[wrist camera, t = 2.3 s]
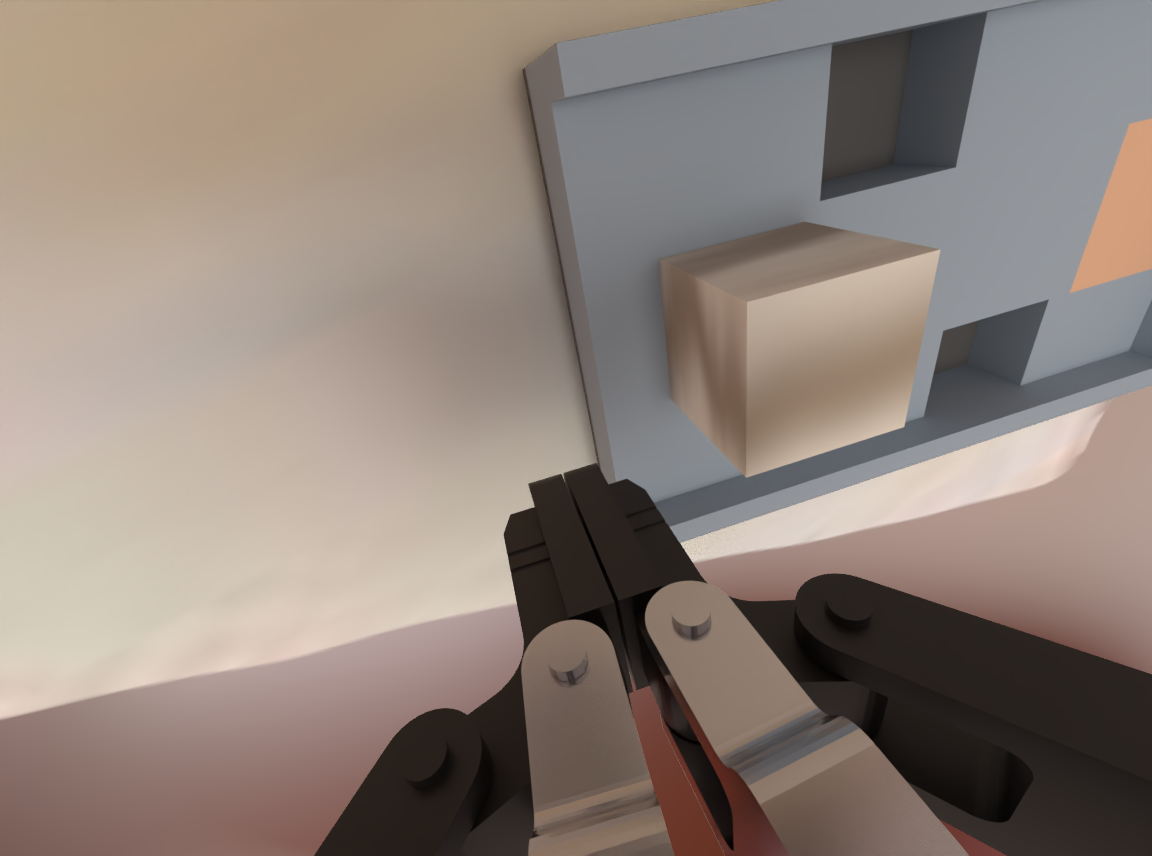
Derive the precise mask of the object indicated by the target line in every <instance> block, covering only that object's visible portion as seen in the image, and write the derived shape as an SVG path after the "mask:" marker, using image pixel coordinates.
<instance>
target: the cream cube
mask: <svg viewBox="0 0 1152 856" xmlns="http://www.w3.org/2000/svg"><path fill="white" fill-rule="evenodd" d="M940 250H941V249H937V248H932V247H927V246H922V245H917V244H912V243H907V242H902V241H897V240H892V239H888V238H883V237H878V236H873V235H868V234H863V233H858V232H853V231H848V230H843V229H838V228H834V227H829V226H824V225H819V224H814V223H809V222H801V223H797V224H793V225H790V226H786V227H782V228H778V229H774V230H770V231H766V232H762V233H758V234H754V235H750V236H746V237H742V238H739V239H735V240H731V241H727V242H723V243H719V244H715V245H711V246H707V247H703V248H699V249H695V250H691V251H688V252H684V253H680V254H676V255H672V256H668V257H664V258H660V259H659V266H660V278H661V289H662V301H663V312H664V324H665V335H666V346H667V358H668V369H669V381H670V392H671V400H672V401H673V402H674V403H675V404H676V405H677V406H678V407H679V408H680V409H681V410H682V411H683V412H684V413H685V415H686V416H687V417H688V418H689V419H690V420H691V421H692V422H693V423H694V424H695V425H696V426H697V427H698V428H699V429H700V430H701V431H702V432H703V433H704V434H705V435H706V436H707V437H708V439H709V440H710V441H711V442H712V443H713V444H714V445H715V446H716V447H717V448H718V449H719V450H720V451H721V452H722V453H723V454H724V455H725V456H726V457H727V458H728V459H729V460H730V462H731V463H732V464H733V465H734V466H735V467H736V468H737V469H738V470H739V471H740V472H741V473H742V474H743V475H744V476H745V477H746V478H747V477H750V476H753V475H756V474H759V473H763V472H766V471H769V470H772V469H775V468H778V467H781V466H784V465H787V464H791V463H794V462H797V461H800V460H803V459H806V458H809V457H812V456H815V455H819V454H822V453H825V452H828V451H831V450H834V449H837V448H840V447H843V446H847V445H850V444H853V443H856V442H859V441H862V440H865V439H868V438H871V437H874V436H878V435H881V434H884V433H887V432H890V431H893V430H896V429H899V428H902V427H904V426H905V421H906V416H907V411H908V406H909V401H910V396H911V392H912V387H913V382H914V377H915V372H916V367H917V362H918V357H919V353H920V348H921V343H922V338H923V333H924V328H925V323H926V318H927V314H928V309H929V304H930V299H931V294H932V289H933V284H934V279H935V275H936V270H937V265H938V260H939V255H940Z"/></svg>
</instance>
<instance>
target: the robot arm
mask: <svg viewBox="0 0 1152 856" xmlns="http://www.w3.org/2000/svg"><path fill="white" fill-rule="evenodd" d="M564 480H565V481H564ZM528 485H529V488H530V492H531V495H532V499H533V502H534V506H535V507H534V508H531V509H527V510H524V511H521V512H518V513H514V514H511V515H510V517H509V520H508V523H507V526H506V529H505V532H504V539H505V544H506V549H507V554H508V559H509V565H510V570H511V573H512V574H511V575H512V580H513V585H514V590H515V596H516V601H517V606H518V611H519V616H520V621H521V626H522V632H523V638H524V651H523V656H522V659H521V662H520V664H519V667H518V669H517V670H516V672H515V674H514V676H513V677H512V678H511V680H510V681H509V682H508V683H507V684H506V685H505V686H504V688H503V689H502V690H500V691H499V692H498V693H497V694H496V695H494V696H493V697H492V698H490V699H489V700H488V701H487V702H485V703H484V704H482V705H481V706H479V707H478V708H477V709H475V710H474V711H473V712H471V713H470V714H468V715H466V714H465V713H463V712H461V711H459V710H455V709H448V708H442V709H435V710H432V711H429V712H426V713H424V714H422V715H420V716H418V717H416V718H415V719H413V720H412V721H410V722H409V723H408V724H406V725H405V726H404V727H403V728H402V729H401V730H400V731H399V732H398V733H397V734H396V735H395V736H394V738H393V739H392V740H391V742H390V743H389V744H388V746H387V747H386V749H385V750H384V752H383V753H382V755H381V756H380V758H379V759H378V761H377V762H376V764H375V765H374V767H373V768H372V770H371V771H370V773H369V774H368V776H367V777H366V779H365V780H364V782H363V783H362V785H361V786H360V788H359V789H358V791H357V792H356V794H355V795H354V797H353V798H352V800H351V801H350V803H349V804H348V806H347V807H346V809H345V810H344V812H343V813H342V815H341V816H340V818H339V819H338V821H337V822H336V824H335V825H334V827H333V828H332V830H331V831H330V833H329V834H328V836H327V837H326V839H325V840H324V842H323V843H322V845H321V846H320V848H319V849H318V851H317V852H316V854H315V855H314V856H674V854H673V850H672V846H671V843H670V839H669V836H668V832H667V829H666V825H665V822H664V819H663V815H662V812H661V809H660V806H659V803H658V800H657V797H656V795H655V792H654V789H653V786H652V782H651V779H650V775H649V772H648V768H647V765H646V761H645V757H644V754H643V751H642V747H641V744H640V740H639V736H638V733H637V729H636V725H635V721H634V716H633V712H632V707H631V703H630V698H629V693H631V692H633V690H632V684H631V680H630V675H631V677H632V680H633V682H634V685H635V687H636V690H638V689H641V688H644V687H646V686H649V685H650V687H651V690H652V692H653V694H654V697H655V699H656V702H657V704H658V706H659V709H660V714H661V720H662V725H663V729H664V731H665V734H666V736H667V738H668V740H669V742H670V744H671V746H672V748H673V750H674V752H675V754H676V756H677V758H678V760H679V762H680V765H681V767H682V769H683V771H684V772H685V774H686V777H687V779H688V781H689V783H690V785H691V787H692V789H693V791H694V793H695V795H696V797H697V799H698V801H699V803H700V805H701V807H702V809H703V811H704V813H705V815H706V817H707V819H708V821H709V824H710V826H711V827H712V830H713V832H714V834H715V836H716V838H717V840H718V842H719V844H720V846H721V848H722V850H723V852H724V854H725V856H969V855H968V854H967V852H966V851H965V850H964V849H963V848H962V846H961V845H960V844H959V843H958V842H957V841H956V839H955V838H954V837H953V836H952V835H951V833H950V832H949V831H948V830H947V829H946V828H945V826H944V825H943V824H942V823H941V822H940V821H939V819H940V820H942V821H944V822H946V823H948V824H950V825H952V826H953V827H955V828H957V829H959V830H961V831H963V832H964V833H966V834H968V835H970V836H972V837H974V838H975V839H978V840H979V841H981V842H983V843H985V844H987V845H989V846H990V847H992V848H994V849H996V850H998V851H1000V852H1001V853H1004V854H1005V855H1007V856H1152V674H1149V673H1146V672H1143V671H1140V670H1137V669H1134V668H1131V667H1128V666H1125V665H1122V664H1119V663H1116V662H1113V661H1110V660H1107V659H1104V658H1101V657H1098V656H1095V655H1091V654H1088V653H1086V652H1082V651H1080V650H1077V649H1074V648H1070V647H1067V646H1064V645H1061V644H1058V643H1055V642H1052V641H1049V640H1046V639H1043V638H1040V637H1037V636H1034V635H1031V634H1028V633H1025V632H1022V631H1019V630H1016V629H1013V628H1010V627H1007V626H1004V625H1001V624H998V623H995V622H992V621H988V620H986V619H983V618H980V617H977V616H974V615H971V614H968V613H965V612H962V611H959V610H956V609H953V608H950V607H947V606H944V605H941V604H937V603H934V602H931V601H928V600H926V599H922V598H920V597H916V596H913V595H910V594H907V593H904V592H901V591H898V590H895V589H892V588H889V587H886V586H883V585H880V584H877V583H874V582H871V581H868V580H865V579H862V578H858V577H855V576H851V575H846V574H824V575H820V576H817V577H814V578H812V579H810V580H808V581H807V582H805V583H804V584H803V585H802V586H801V587H800V589H799V591H798V592H797V596H796V599H795V600H785V601H784V600H782V601H745V600H739V599H735V598H732V597H729V596H727V595H726V594H725V593H724V592H723V591H721V590H720V589H718V588H716V587H715V586H712V585H710V584H708V583H707V582H706V581H705V580H704V579H703V578H702V576H701V575H700V573H699V572H698V570H697V569H696V567H695V566H694V564H693V563H692V561H691V559H690V558H689V556H688V555H687V553H686V552H685V550H684V549H683V547H682V546H681V544H680V542H679V541H678V539H677V538H676V536H675V535H674V533H673V532H672V530H671V529H670V527H669V525H668V524H667V523H666V522H665V519H664V518H663V516H662V515H661V513H660V512H659V510H657V508H656V505H655V504H654V502H653V501H652V499H651V498H650V496H649V495H648V493H647V491H646V490H645V489H643V488H642V487H640V486H638V485H637V484H635V483H634V482H632V481H630V480H629V479H624V480H621V481H617V482H614V483H611V484H608V483H607V481H606V479H605V477H604V475H603V473H602V472H601V470H600V468H599V466H598V465H597V464H596V463H595V464H592V465H588V466H585V467H582V468H579V469H575V470H572V471H569V472H565V473H564V479H563V477H562V475H561V474H559V475H556V476H552V477H549V478H546V479H543V480H539V481H536V482H533V483H529V484H528ZM628 669H629V670H628ZM629 672H630V675H629ZM938 818H939V819H938Z"/></svg>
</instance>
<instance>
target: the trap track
mask: <svg viewBox="0 0 1152 856" xmlns="http://www.w3.org/2000/svg"><path fill="white" fill-rule="evenodd" d="M523 74H524V79H525V84H526V89H527V94H528V100H529V105H530V110H531V115H532V121H533V126H534V131H535V136H536V141H537V147H538V152H539V157H540V162H541V168H542V173H543V178H544V183H545V188H546V194H547V199H548V204H549V209H550V215H551V220H552V225H553V230H554V235H555V241H556V246H557V251H558V256H559V262H560V267H561V272H562V277H563V282H564V288H565V293H566V298H567V303H568V309H569V314H570V319H571V324H572V329H573V335H574V340H575V345H576V350H577V356H578V361H579V366H580V371H581V376H582V382H583V387H584V392H585V397H586V403H587V408H588V413H589V418H590V424H591V429H592V434H593V439H594V444H595V450H596V455H597V460H598V465H599V468H600V470H601V472H602V473H603V475H604V477H605V479H606V481H607V483H608V484H611V483H614V482H617V481H621V480H624V479H629V480H630V481H632V482H634V483H635V484H637V485H638V486H640V487H642V488H643V489H645V490H646V491H647V493H648V495H649V496H650V498H651V499H652V501H653V502H654V504H655V505H656V508H657V510H659V512H660V513H661V515H662V516H663V518H664V519H665V522H666V523H667V524H668V525H669V527H670V529H671V530H672V532H673V533H674V535H675V536H676V538H677V539H678V541H679V542H680V543H681V542H684V541H687V540H690V539H693V538H696V537H699V536H702V535H705V534H708V533H711V532H714V531H717V530H720V529H723V528H726V527H729V526H732V525H735V524H738V523H741V522H744V521H747V520H750V519H753V518H756V517H759V516H762V515H765V514H768V513H771V512H774V511H777V510H780V509H783V508H786V507H789V506H792V505H795V504H798V503H801V502H804V501H807V500H810V499H813V498H816V497H819V496H822V495H825V494H828V493H831V492H834V491H837V490H840V489H843V488H846V487H849V486H852V485H855V484H858V483H861V482H864V481H867V480H870V479H873V478H876V477H879V476H882V475H885V474H888V473H891V472H894V471H897V470H900V469H903V468H906V467H909V466H912V465H915V464H918V463H921V462H924V461H927V460H930V459H933V458H936V457H939V456H942V455H945V454H948V453H951V452H954V451H957V450H960V449H963V448H966V447H969V446H972V445H975V444H978V443H981V442H984V441H987V440H990V439H993V438H996V437H999V436H1002V435H1005V434H1008V433H1011V432H1014V431H1017V430H1020V429H1022V428H1025V427H1028V426H1031V425H1034V424H1037V423H1040V422H1043V421H1046V420H1049V419H1052V418H1055V417H1058V416H1061V415H1064V414H1067V413H1070V412H1073V411H1076V410H1079V409H1082V408H1085V407H1088V406H1091V405H1094V404H1097V403H1100V402H1103V401H1106V400H1109V399H1112V398H1115V397H1118V396H1121V395H1124V394H1127V393H1130V392H1133V391H1136V390H1139V389H1142V388H1145V387H1148V386H1151V385H1152V0H779V1H774V2H768V3H763V4H758V5H753V6H747V7H742V8H737V9H732V10H727V11H721V12H716V13H711V14H706V15H700V16H695V17H690V18H685V19H680V20H674V21H669V22H664V23H659V24H653V25H648V26H643V27H638V28H633V29H627V30H622V31H617V32H612V33H606V34H601V35H596V36H591V37H586V38H580V39H575V40H570V41H565V42H559V43H556V44H554V45H553V46H552V47H551V48H549V49H548V50H547V51H546V52H544V53H543V54H542V55H540V56H539V57H538V58H537V59H535V60H534V61H533V62H532V63H530V64H529V65H528V66H526V67H525V68H524V69H523ZM801 222H809V223H814V224H819V225H824V226H829V227H834V228H838V229H843V230H848V231H853V232H858V233H863V234H868V235H873V236H878V237H883V238H888V239H892V240H897V241H902V242H907V243H912V244H917V245H922V246H927V247H932V248H937V249H941V250H940V255H939V260H938V265H937V270H936V275H935V279H934V284H933V289H932V294H931V299H930V304H929V309H928V314H927V318H926V323H925V328H924V333H923V338H922V343H921V348H920V353H919V357H918V362H917V367H916V372H915V377H914V382H913V387H912V392H911V396H910V401H909V406H908V411H907V416H906V421H905V426H904V427H902V428H899V429H896V430H893V431H890V432H887V433H884V434H881V435H878V436H874V437H871V438H868V439H865V440H862V441H859V442H856V443H853V444H850V445H847V446H843V447H840V448H837V449H834V450H831V451H828V452H825V453H822V454H819V455H815V456H812V457H809V458H806V459H803V460H800V461H797V462H794V463H791V464H787V465H784V466H781V467H778V468H775V469H772V470H769V471H766V472H763V473H759V474H756V475H753V476H750V477H747V478H746V477H745V476H744V475H743V474H742V473H741V472H740V471H739V470H738V469H737V468H736V467H735V466H734V465H733V464H732V463H731V462H730V460H729V459H728V458H727V457H726V456H725V455H724V454H723V453H722V452H721V451H720V450H719V449H718V448H717V447H716V446H715V445H714V444H713V443H712V442H711V441H710V440H709V439H708V437H707V436H706V435H705V434H704V433H703V432H702V431H701V430H700V429H699V428H698V427H697V426H696V425H695V424H694V423H693V422H692V421H691V420H690V419H689V418H688V417H687V416H686V415H685V413H684V412H683V411H682V410H681V409H680V408H679V407H678V406H677V405H676V404H675V403H674V402H673V401H672V400H671V392H670V381H669V369H668V358H667V346H666V335H665V324H664V312H663V301H662V289H661V278H660V266H659V259H660V258H664V257H668V256H672V255H676V254H680V253H684V252H688V251H691V250H695V249H699V248H703V247H707V246H711V245H715V244H719V243H723V242H727V241H731V240H735V239H739V238H742V237H746V236H750V235H754V234H758V233H762V232H766V231H770V230H774V229H778V228H782V227H786V226H790V225H793V224H797V223H801Z"/></svg>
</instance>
